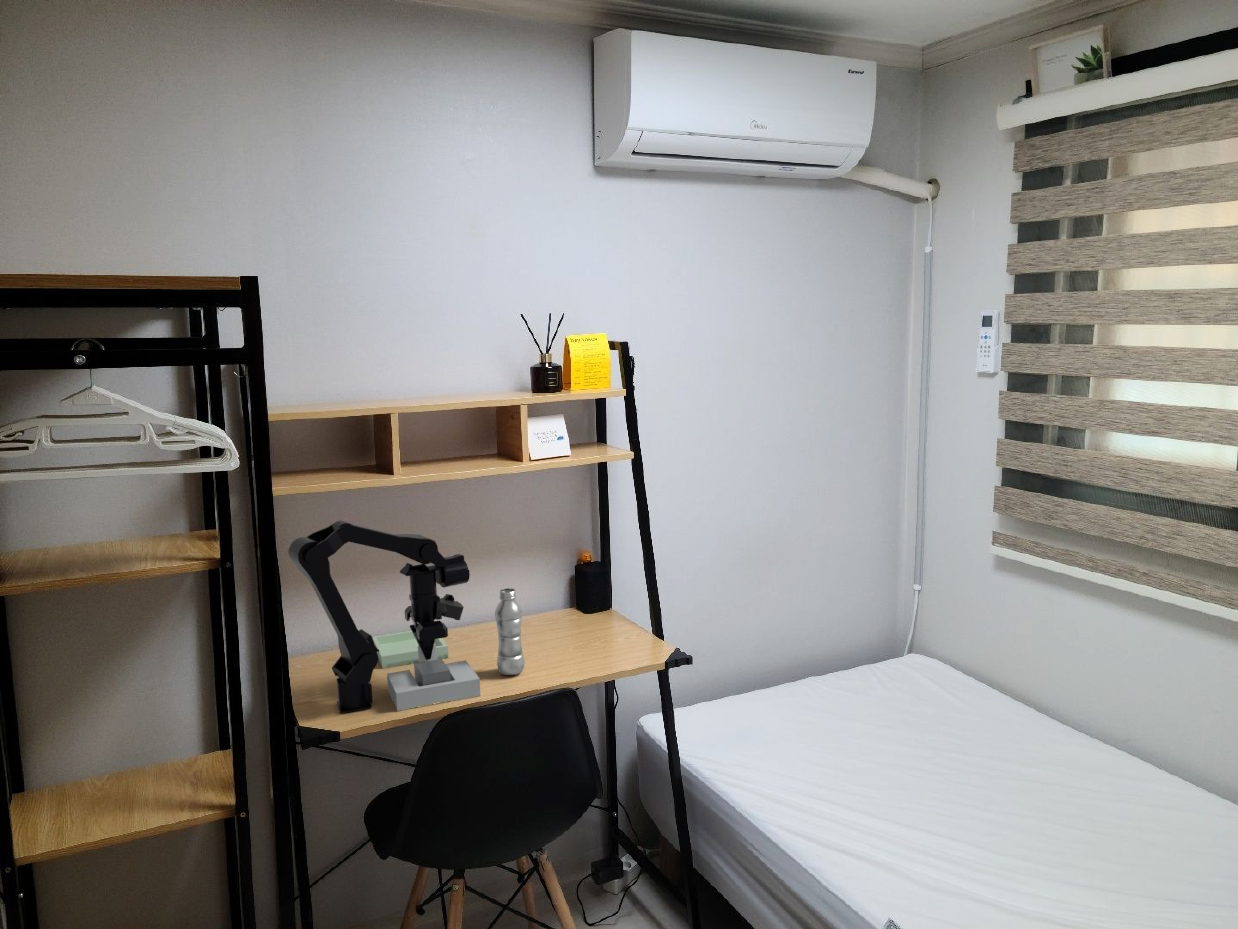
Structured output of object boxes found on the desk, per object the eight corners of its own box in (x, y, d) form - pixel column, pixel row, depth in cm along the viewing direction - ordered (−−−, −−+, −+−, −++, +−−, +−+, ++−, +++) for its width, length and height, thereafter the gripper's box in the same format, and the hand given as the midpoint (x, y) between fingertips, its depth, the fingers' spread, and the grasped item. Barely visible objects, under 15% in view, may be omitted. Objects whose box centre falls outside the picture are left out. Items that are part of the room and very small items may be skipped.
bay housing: (397, 711, 190) (396, 693, 190) (387, 690, 202) (386, 673, 201) (480, 696, 197) (479, 678, 197) (466, 676, 209) (465, 660, 208)
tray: (382, 668, 215) (381, 656, 215) (372, 648, 230) (371, 636, 229) (448, 657, 221) (447, 646, 221) (435, 638, 236) (434, 627, 235)
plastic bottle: (499, 680, 206) (495, 595, 203) (495, 669, 212) (491, 588, 210) (527, 676, 208) (524, 592, 205) (522, 666, 214) (518, 585, 211)
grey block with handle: (424, 701, 194) (421, 659, 193) (415, 687, 203) (412, 646, 202) (451, 696, 196) (448, 654, 195) (441, 682, 206) (439, 642, 204)
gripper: (469, 597, 195) (472, 665, 198) (449, 576, 212) (453, 640, 215) (417, 604, 191) (422, 674, 193) (402, 583, 208) (406, 647, 210)
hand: (427, 658), depth 203 cm, fingers closed on grey block with handle
